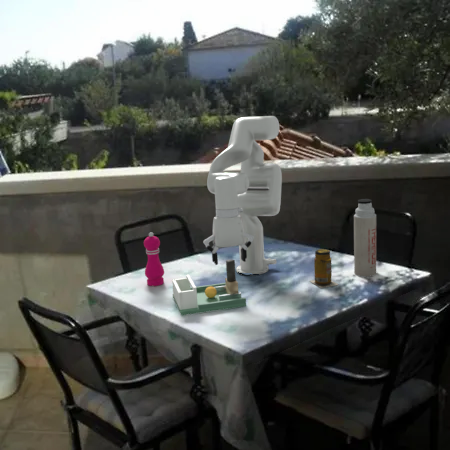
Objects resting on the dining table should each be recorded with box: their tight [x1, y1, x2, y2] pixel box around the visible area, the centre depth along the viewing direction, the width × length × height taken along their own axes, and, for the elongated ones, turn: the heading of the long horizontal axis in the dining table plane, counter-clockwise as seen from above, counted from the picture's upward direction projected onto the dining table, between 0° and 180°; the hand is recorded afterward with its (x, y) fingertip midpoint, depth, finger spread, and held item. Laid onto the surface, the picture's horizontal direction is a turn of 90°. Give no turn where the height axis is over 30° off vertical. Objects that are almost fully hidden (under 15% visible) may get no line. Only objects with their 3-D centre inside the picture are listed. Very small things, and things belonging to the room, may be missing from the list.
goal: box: [171, 274, 198, 310], centre depth 215 cm, size 6×14×7 cm, turn 13°
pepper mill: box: [143, 232, 165, 287], centre depth 236 cm, size 7×7×20 cm
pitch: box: [172, 282, 247, 316], centre depth 217 cm, size 22×18×3 cm
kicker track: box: [214, 285, 242, 301], centre depth 218 cm, size 8×10×2 cm
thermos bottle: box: [353, 198, 377, 278], centre depth 232 cm, size 8×8×28 cm
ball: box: [205, 286, 217, 298], centre depth 217 cm, size 4×4×4 cm
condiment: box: [309, 248, 339, 289], centre depth 227 cm, size 7×8×12 cm
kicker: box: [224, 259, 239, 294], centre depth 217 cm, size 3×6×12 cm, turn 13°
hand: (229, 262), depth 215 cm, fingers open, 9 cm apart
